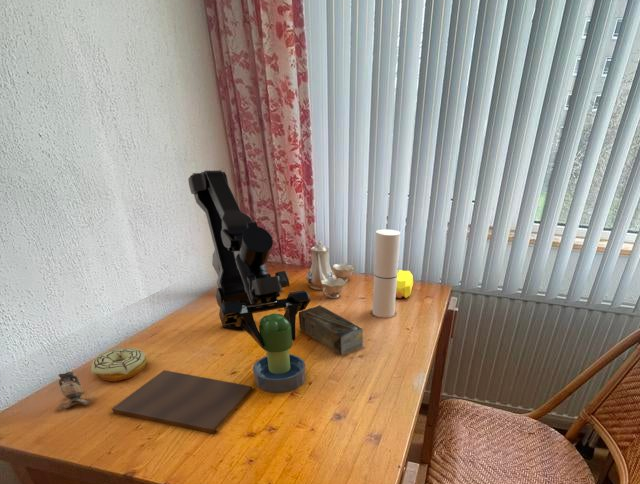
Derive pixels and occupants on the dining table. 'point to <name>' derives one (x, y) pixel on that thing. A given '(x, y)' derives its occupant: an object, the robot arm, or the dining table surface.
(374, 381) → the dining table surface
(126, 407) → the board
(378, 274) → the cylindrical container
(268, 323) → the broccoli
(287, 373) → the bowl
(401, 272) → the orange-capped yellow polyhedron
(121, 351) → the decorated donut
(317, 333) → the beverage carton
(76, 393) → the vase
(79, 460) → the dining table surface
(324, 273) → the chinaware
